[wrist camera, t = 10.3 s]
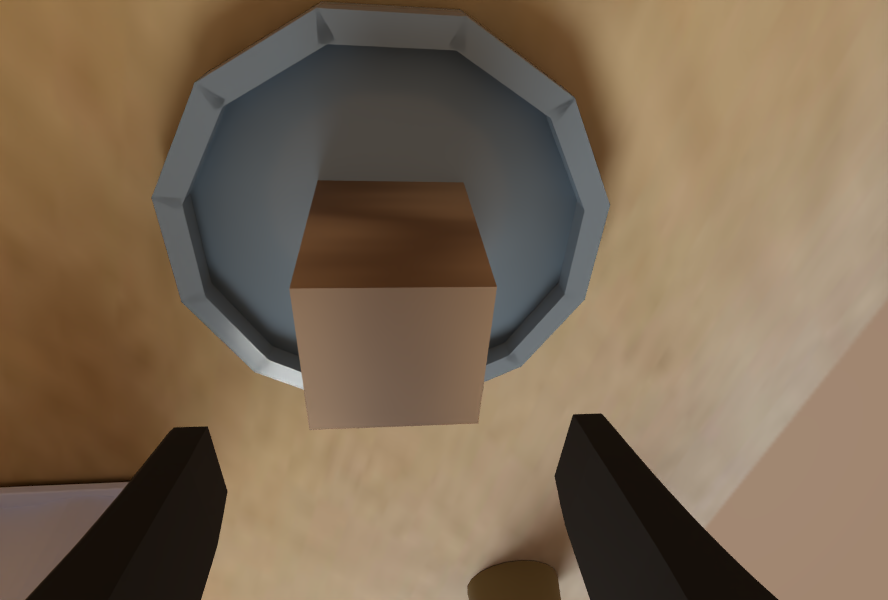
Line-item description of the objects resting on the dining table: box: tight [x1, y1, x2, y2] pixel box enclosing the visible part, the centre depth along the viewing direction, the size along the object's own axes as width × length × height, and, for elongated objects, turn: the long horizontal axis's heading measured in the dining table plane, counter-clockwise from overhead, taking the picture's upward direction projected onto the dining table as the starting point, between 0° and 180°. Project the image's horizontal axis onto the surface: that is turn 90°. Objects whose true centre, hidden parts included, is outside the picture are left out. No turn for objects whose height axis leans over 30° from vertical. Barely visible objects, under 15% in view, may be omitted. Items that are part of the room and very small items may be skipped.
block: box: [289, 180, 497, 430], centre depth 15 cm, size 5×5×6 cm
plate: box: [151, 1, 610, 390], centre depth 17 cm, size 14×14×1 cm
